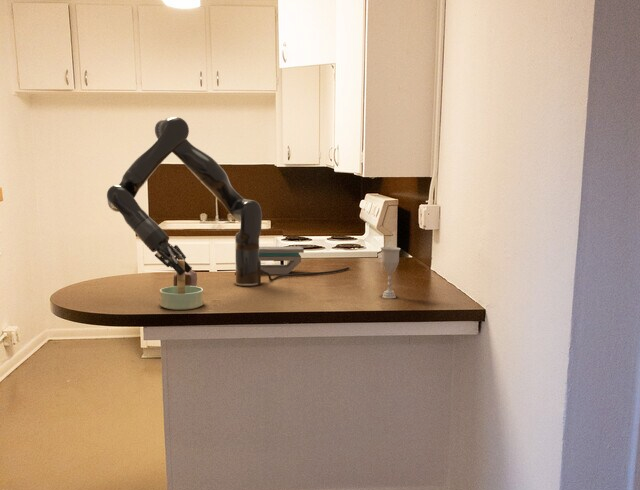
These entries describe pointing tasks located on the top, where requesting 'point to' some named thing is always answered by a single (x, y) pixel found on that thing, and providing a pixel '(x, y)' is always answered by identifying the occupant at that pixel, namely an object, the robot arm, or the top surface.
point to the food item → (188, 278)
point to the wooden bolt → (181, 278)
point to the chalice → (390, 266)
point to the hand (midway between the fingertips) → (186, 272)
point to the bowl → (181, 298)
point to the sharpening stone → (280, 258)
